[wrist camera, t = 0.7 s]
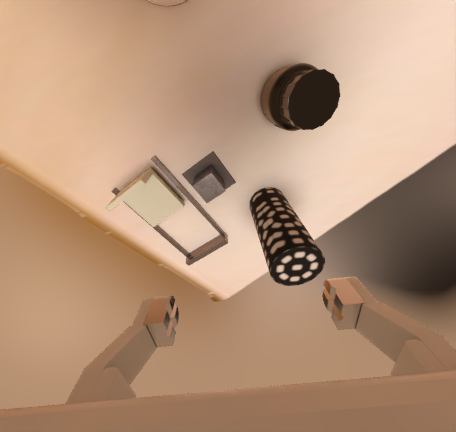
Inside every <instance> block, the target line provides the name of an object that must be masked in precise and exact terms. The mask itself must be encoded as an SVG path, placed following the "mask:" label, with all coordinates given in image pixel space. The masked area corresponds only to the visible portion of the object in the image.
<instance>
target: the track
mask: <svg viewBox="0 0 456 432" xmlns="http://www.w3.org/2000/svg"><path fill="white" fill-rule="evenodd" d="M151 160H152V161H153V162H154V163H155V164H156V165H157V166H158V167H159V168H160V169H161V170H162V171H163V173H164V174H165V175H166V176H167V177H168V178H169V179H170V180H171V181H172V182H173V183H174V184H175V185H176V187H177V188H178V189H179V190H180V191H181V192H182V193H183V194H184V195H185V196H186V197H187V198H188V200H189V201H190V202H191V203H192V204H193V205H194V206H195V207H196V208H197V209H198V210H199V211H200V213H201V214H202V215H203V216H204V217H205V218H206V219H207V220H208V221H209V222H210V223H211V224H212V226H213V227H214V228H215V229H216V230H217V231H218V232H219V233H220V234H221V235H220V236H218V237H216V238H215V239H213V240H211V241H210V242H208V243H206V244H205V245H203V246H201V247H199V248H198V249H196V250H194V251H193V252H191V253H188V252H187V251H186V250H185V249H184V248H183V247H181V246H180V245H179V244H178V243H177V242H176V241H175V240H174V239H172V238H171V237H170V236H169V235H168V234H167V233H166V232H165V231H163V230H162V229H161V228H160V227H159V226H158V225H156V226H155V227H153V228H154V229H155V230H156V231H157V232H159V233H160V234H161V235H162V236H163V237H164V238H165V239H167V240H168V241H169V242H170V243H171V244H172V245H173V246H175V247H176V248H177V249H178V250H179V251H180V252H182V253H183V254H184V255H185V256H186V257H187V258H186V264H187V265H191V264H193V263H194V262H196V261H198V260H200V259H201V258H203V257H205V256H206V255H208V254H210V253H212V252H213V251H215V250H217V249H219V248H220V247H222V246H224V245H226V244H227V243H228V238H227V235H226V234H225V232H224V231H223V230H222V229H221V228H220V227H219V226H218V225H217V224H216V222H215V221H214V220H213V219H212V218H211V217H210V216H209V215H208V214H207V212H206V211H205V210H204V209H203V208H202V207H201V206H200V205H199V204H198V203H197V201H196V200H195V199H194V198H193V197H192V196H191V195H190V194H189V193H188V191H187V190H186V189H185V188H184V187H183V186H182V185H181V184H180V183H179V181H178V180H177V179H176V178H175V177H174V176H173V175H172V174H171V173H170V172H169V170H168V169H167V168H166V167H165V166H164V165H163V164H162V163H161V162H160V160H159V159H158V158H157V157H156V156H154V157H153V158H152V159H151ZM112 192H113V193H114V194H115V195H117V194H118V193H119V192H120V191H119V190H118V189H116V188H115V189H113V190H112ZM123 202H124V201H123ZM124 203H125V202H124ZM125 204H126V203H125ZM128 206H129V205H128ZM129 207H130V206H129ZM130 208H131V207H130ZM131 209H132V208H131ZM132 210H133V209H132ZM133 211H134V210H133ZM136 213H137V212H136ZM137 214H138V213H137ZM138 215H139V214H138ZM139 216H140V215H139ZM140 217H141V216H140ZM141 218H142V217H141ZM145 221H146V220H145ZM146 222H147V221H146ZM147 223H148V222H147ZM148 224H149V223H148ZM149 225H150V224H149Z"/></svg>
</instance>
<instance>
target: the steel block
mask: <svg viewBox="0 0 456 432" xmlns="http://www.w3.org/2000/svg"><path fill="white" fill-rule="evenodd" d="M192 186H193V188H194V189H195V190H196V191H197V192H198V193H199V194H200V196H201V197H202V198H203V199H204V200H205V201H206V203H208V202H209V201H211V200H212V199H214V198H215V197H217V196H218V195H220V194H221V193H223V192H225V183H224V180H223V179H222V177H221V176H220V175H219V173H218V172H217V171H216V169H215V168H214V167H213V165H212V164H211V165H210V166H208V167H207V168H206V169H204V170H203V171H201V172H200V173H199V174H197V175H196V176H194V181H193V185H192Z"/></svg>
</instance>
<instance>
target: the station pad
mask: <svg viewBox="0 0 456 432" xmlns="http://www.w3.org/2000/svg"><path fill="white" fill-rule="evenodd" d="M211 164H212V165H213V167H214V168H215V169H216V171H217V172H218V173H219V175H220V176H221V177H222V179H223V180H224V183H225V189H227V188H228V187H230V186H231V185H233V184H234V183H236V182H235V181H234V179H233V178H232V177H231V175H230V174H229V172H228V171H227V170H226V168H225V167H224V166H223V164H222V163H221V161H220V160H219V159H218V157H217V156H216V155H215V153H214V152H212V153H210V154H209V155H208V156H206V157H205V158H204V159H202V160H201V161H200V162H198V163H197V164H196V165H194V166H193V167H192V168H190V169H189V170H187V171H186V172H185V173H183V174H182V175H183V176H184V177H185V178H186V179H187V181H188V182H189V183H190V184H191V185H193V181H194V176H196V175H197V174H199V173H200V172H201V171H203V170H204V169H206V168H207V167H208V166H210V165H211Z"/></svg>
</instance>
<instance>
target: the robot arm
mask: <svg viewBox="0 0 456 432" xmlns="http://www.w3.org/2000/svg"><path fill="white" fill-rule="evenodd" d="M147 1H149V2H152V3H154V4H158V5H163V6H172V5H177V4H180V3H182V2H184V1H186V0H147ZM324 286H325V289H324V291H323V301H324V304H325V306H326V308H327V310H328V311H330V312H331V313H332V316H331V317H332V320H333V322H334V323H335V325H336V327H337V329H338V330H341V329H356V330H357V331H358V332H359V333H360V334H362V335H363V336H364V337H365V338H366V339H368V340H369V341H370V342H371V343H373V344H374V345H375V346H376V347H377V348H379V349H380V350H381V351H382V352H383V353H385V354H386V355H387V356H388V357H389V358H391V359H392V360H393V361H394V362H395V365H394V367H393V369H392V371H391V376H385V377H373V378H362V379H350V380H338V381H326V382H315V383H303V384H291V385H280V386H268V387H256V388H246V389H234V390H223V391H212V392H211V391H210V392H199V393H187V394H176V395H165V396H153V397H141V398H136V395H135V393H134V391H133V390H132V389H131V387H130V384H131V383H132V381H133V380H134V379H135V377H136V376H137V375H138V373H139V372H140V371H141V369H142V368H143V366H144V365H145V364H146V362H147V361H148V360H149V358H150V357H151V355H152V354H153V353H154V351H155V350H156V347H163V346H171V345H173V342H174V338H175V334H176V332H175V329H174V328H175V326H176V325H177V324H178V319H179V312H178V307H177V305H175V304H174V303H175V298H174V296H162V297H151V298H145V299H144V300H143V302H142V304H141V306H140V309H139V311H138V313H137V316H136V318H135V320H134V323H133V325H132V326H130V327H128V328H127V329H126V330H125V331H124V332H123V333H122V334H121V335H120V336H119V337H118V338H116V340H114V341H113V342H112V343H111V344H110V345H109V346H108V347H107V348H106V349H105V350H104V351H103V352H102V353H100V354H99V355H98V356H97V357H96V358H95V359H94V360H93V361H92V362H91V363H90V364H89V365H88V366H87V367H86V368H85V369H84V370H83V372H82V374H81V376H80V378H79V379H78V381H77V383H76V385H75V387H74V389H73V390H72V392H71V394H70V396H69V398H68V400H67V402H66V403H65V404H61V405H50V406H49V405H48V406H37V407H26V408H14V409H2V410H0V432H456V350H455V348H453V346H451V345H450V343H449V342H448V341H447V340H446V339H445V338H444V337H443V336H441V335H439V334H438V333H436V332H434V331H432V330H430V329H429V328H427V327H425V326H423V325H421V324H420V323H418V322H416V321H414V320H412V319H410V318H409V317H407V316H405V315H403V314H401V313H399V312H398V311H396V310H394V309H392V308H391V307H389V306H387V305H385V304H383V303H382V302H377V301H376V300H375V299H374V298H373V296H372V295H371V294H370V293H369V292H368V290H367V289H366V288H365V287H364V286H363V284H362V283H361V282H360V281H359V280H358V278H357V277H346V278H336V279H329V280H328V279H327V280H325V281H324Z"/></svg>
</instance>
